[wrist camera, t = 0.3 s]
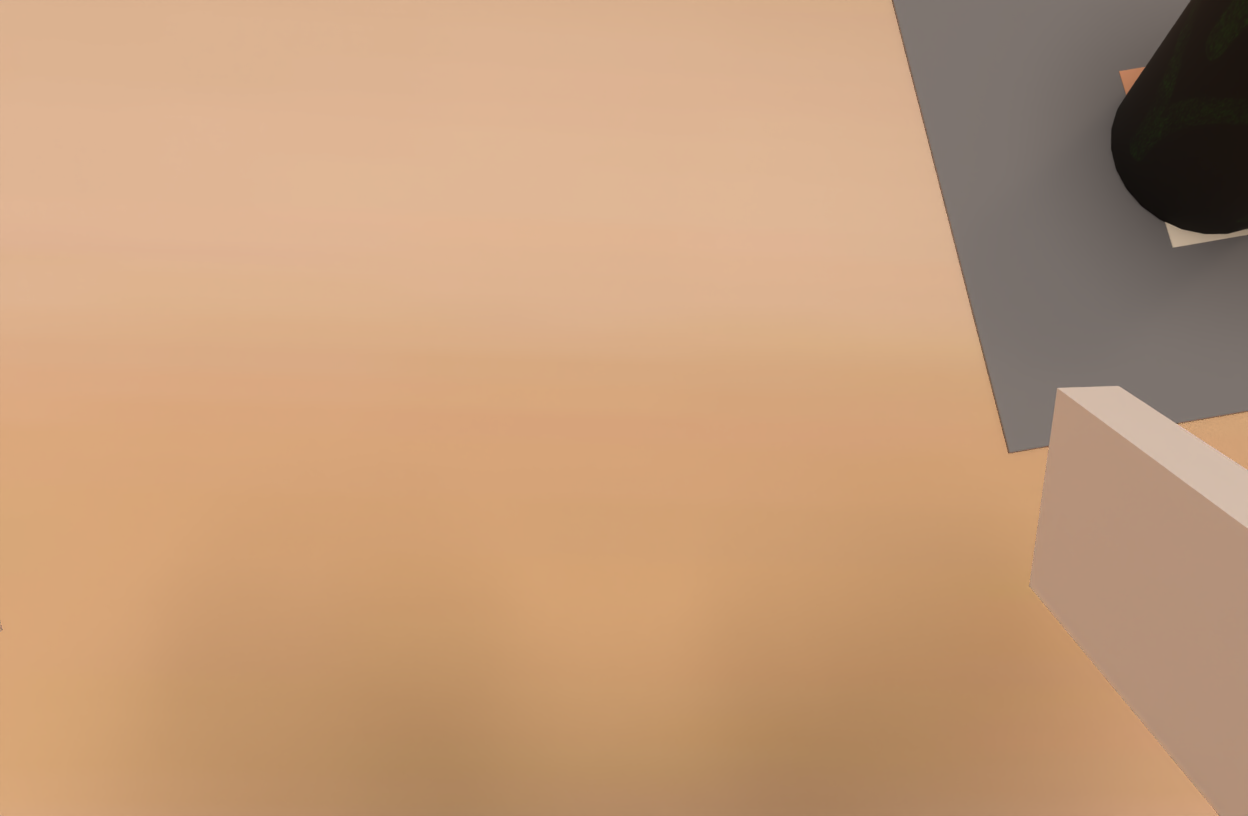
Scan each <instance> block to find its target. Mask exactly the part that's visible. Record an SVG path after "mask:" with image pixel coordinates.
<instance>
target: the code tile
mask: <svg viewBox="0 0 1248 816" xmlns="http://www.w3.org/2000/svg"><path fill="white" fill-rule="evenodd" d="M892 2H893V6H894V10H895V14H896V18H897V22H898V26H899V30H900V33H901V37H902V41H903V45H904V49H905V53H906V57H907V61H908V65H909V68H910V72H911V76H912V80H913V84H914V88H915V92H916V96H917V99H918V103H919V107H920V111H921V115H922V119H923V123H924V127H925V131H926V134H927V138H928V142H929V146H930V150H931V154H932V158H933V162H934V166H935V169H936V173H937V177H938V181H939V185H940V189H941V193H942V197H943V201H944V204H945V208H946V212H947V216H948V220H949V224H950V228H951V232H952V236H953V239H954V243H955V247H956V251H957V255H958V259H959V263H960V267H961V271H962V274H963V278H964V282H965V286H966V290H967V294H968V298H969V302H970V306H971V309H972V313H973V317H974V321H975V325H976V329H977V333H978V337H979V341H980V344H981V348H982V352H983V356H984V360H985V364H986V368H987V372H988V375H989V379H990V383H991V387H992V391H993V395H994V399H995V403H996V407H997V410H998V414H999V418H1000V422H1001V426H1002V430H1003V434H1004V438H1005V442H1006V445H1007V449H1008V453H1013V452H1018V451H1024V450H1030V449H1036V448H1041V447H1047V446H1049V442H1050V435H1051V428H1052V421H1053V414H1054V407H1055V400H1056V393H1057V388H1069V387H1099V386H1120V387H1121V388H1123V389H1124V390H1126V391H1127V392H1129V393H1130V394H1132V395H1133V396H1135V397H1136V398H1138V399H1139V400H1141V401H1143V402H1144V403H1146V404H1147V405H1149V406H1150V407H1152V408H1153V409H1155V410H1156V411H1158V412H1159V413H1161V414H1162V415H1164V416H1166V417H1167V418H1169V419H1170V420H1172V421H1173V422H1175V423H1176V424H1178V423H1183V422H1189V421H1195V420H1200V419H1206V418H1212V417H1217V416H1223V415H1229V414H1235V413H1240V412H1246V411H1248V229H1245V230H1241V231H1237V232H1233V233H1229V234H1202V233H1197V232H1192V231H1187V230H1182V229H1180V228H1178V227H1175V226H1173V225H1171V224H1169V223H1166V222H1164V221H1162V220H1160V219H1159V218H1157V217H1156V216H1154V215H1153V214H1152V213H1150V212H1149V211H1148V210H1146V209H1145V208H1144V207H1142V206H1141V205H1140V204H1139V203H1138V201H1137V200H1136V199H1135V198H1134V197H1133V196H1132V195H1131V193H1130V192H1129V191H1128V190H1127V189H1126V187H1125V185H1124V183H1123V181H1122V179H1121V178H1120V176H1119V174H1118V172H1117V170H1116V167H1115V163H1114V159H1113V155H1112V151H1111V128H1112V125H1113V122H1114V118H1115V115H1116V112H1117V109H1118V107H1119V106H1120V104H1121V103H1122V101H1123V99H1124V98H1125V96H1126V95H1127V93H1128V92H1129V90H1130V89H1131V87H1132V86H1133V84H1134V83H1135V81H1136V80H1137V78H1138V77H1139V75H1140V74H1141V72H1142V71H1143V70H1144V68H1145V67H1146V65H1147V64H1148V62H1149V61H1150V59H1151V58H1152V56H1153V55H1154V53H1155V52H1156V50H1157V49H1158V47H1159V46H1160V45H1161V43H1162V42H1163V40H1164V39H1165V37H1166V36H1167V34H1168V33H1169V31H1170V30H1171V28H1172V27H1173V25H1174V24H1175V22H1176V21H1177V20H1178V18H1179V17H1180V15H1181V14H1182V12H1183V11H1184V9H1185V8H1186V6H1187V5H1188V3H1189V2H1190V0H892Z"/></svg>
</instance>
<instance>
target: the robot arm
mask: <svg viewBox="0 0 1248 816" xmlns="http://www.w3.org/2000/svg"><path fill="white" fill-rule="evenodd" d="M1029 586H1030V588H1031V589H1032V590H1033V591H1034V592H1035V594H1036V595H1037V596H1038V597H1039V598H1040V600H1041V601H1042V602H1043V603H1044V604H1045V606H1046V607H1047V608H1048V609H1049V611H1050V612H1051V613H1052V614H1053V615H1054V617H1055V618H1056V619H1057V620H1058V621H1059V623H1060V624H1061V625H1062V626H1063V627H1064V629H1065V630H1066V631H1067V632H1068V633H1069V635H1070V636H1071V637H1072V638H1073V639H1074V641H1075V642H1076V643H1077V644H1078V646H1079V647H1080V648H1081V649H1082V650H1083V652H1084V653H1085V654H1086V655H1087V656H1088V658H1089V659H1090V660H1091V661H1092V662H1093V664H1094V665H1095V666H1096V667H1097V668H1098V670H1099V671H1100V672H1101V673H1102V675H1103V676H1104V677H1105V678H1106V679H1107V681H1108V682H1109V683H1110V684H1111V685H1112V687H1113V688H1114V689H1115V690H1116V691H1117V693H1118V694H1119V695H1120V696H1121V697H1122V699H1123V700H1124V701H1125V702H1126V704H1127V705H1128V706H1129V707H1130V708H1131V710H1132V711H1133V712H1134V713H1135V714H1136V716H1137V717H1138V718H1139V719H1140V720H1141V722H1142V723H1143V724H1144V725H1145V726H1146V728H1147V729H1148V730H1149V731H1150V732H1151V734H1152V735H1153V736H1154V737H1155V739H1156V740H1157V741H1158V742H1159V743H1160V745H1161V746H1162V747H1163V748H1164V749H1165V751H1166V752H1167V753H1168V754H1169V755H1170V757H1171V758H1172V759H1173V760H1174V761H1175V763H1176V764H1177V765H1178V766H1179V768H1180V769H1181V770H1182V771H1183V772H1184V774H1185V775H1186V776H1187V777H1188V778H1189V780H1190V781H1191V782H1192V783H1193V784H1194V786H1195V787H1196V788H1197V789H1198V790H1199V792H1200V793H1201V794H1202V795H1203V796H1204V798H1205V799H1206V800H1207V801H1208V803H1209V804H1210V805H1211V806H1212V807H1213V809H1214V810H1215V811H1216V812H1217V813H1218V815H1219V816H1248V470H1247V469H1245V468H1244V467H1242V466H1241V465H1239V464H1237V463H1236V462H1234V461H1233V460H1231V459H1230V458H1228V457H1227V456H1225V455H1224V454H1222V453H1221V452H1219V451H1218V450H1216V449H1215V448H1213V447H1211V446H1210V445H1208V444H1207V443H1205V442H1204V441H1202V440H1201V439H1199V438H1198V437H1196V436H1195V435H1193V434H1192V433H1190V432H1188V431H1187V430H1185V429H1184V428H1182V427H1181V426H1179V425H1178V424H1176V423H1175V422H1173V421H1172V420H1170V419H1169V418H1167V417H1166V416H1164V415H1162V414H1161V413H1159V412H1158V411H1156V410H1155V409H1153V408H1152V407H1150V406H1149V405H1147V404H1146V403H1144V402H1143V401H1141V400H1139V399H1138V398H1136V397H1135V396H1133V395H1132V394H1130V393H1129V392H1127V391H1126V390H1124V389H1123V388H1121V387H1120V386H1099V387H1069V388H1057V393H1056V400H1055V407H1054V414H1053V421H1052V428H1051V435H1050V442H1049V450H1048V457H1047V464H1046V471H1045V478H1044V485H1043V492H1042V499H1041V506H1040V513H1039V520H1038V527H1037V535H1036V542H1035V549H1034V556H1033V563H1032V570H1031V577H1030V584H1029ZM1 631H2V626H1V622H0V632H1Z"/></svg>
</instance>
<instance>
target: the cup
mask: <svg viewBox="0 0 1248 816" xmlns="http://www.w3.org/2000/svg"><path fill="white" fill-rule="evenodd" d="M1111 151H1112V155H1113V159H1114V163H1115V167H1116V170H1117V172H1118V174H1119V176H1120V178H1121V179H1122V181H1123V183H1124V185H1125V187H1126V189H1127V190H1128V191H1129V192H1130V193H1131V195H1132V196H1133V197H1134V198H1135V199H1136V200H1137V201H1138V203H1139V204H1140V205H1141V206H1142V207H1144V208H1145V209H1146V210H1148V211H1149V212H1150V213H1152V214H1153V215H1154V216H1156V217H1157V218H1159V219H1160V220H1162V221H1164V222H1166V223H1169V224H1171V225H1173V226H1175V227H1178V228H1180V229H1182V230H1187V231H1192V232H1197V233H1202V234H1229V233H1233V232H1237V231H1241V230H1245V229H1248V0H1190V2H1189V3H1188V5H1187V6H1186V8H1185V9H1184V11H1183V12H1182V14H1181V15H1180V17H1179V18H1178V20H1177V21H1176V22H1175V24H1174V25H1173V27H1172V28H1171V30H1170V31H1169V33H1168V34H1167V36H1166V37H1165V39H1164V40H1163V42H1162V43H1161V45H1160V46H1159V47H1158V49H1157V50H1156V52H1155V53H1154V55H1153V56H1152V58H1151V59H1150V61H1149V62H1148V64H1147V65H1146V67H1145V68H1144V70H1143V71H1142V72H1141V74H1140V75H1139V77H1138V78H1137V80H1136V81H1135V83H1134V84H1133V86H1132V87H1131V89H1130V90H1129V92H1128V93H1127V95H1126V96H1125V98H1124V99H1123V101H1122V103H1121V104H1120V106H1119V107H1118V109H1117V112H1116V115H1115V118H1114V122H1113V125H1112V128H1111Z"/></svg>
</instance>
